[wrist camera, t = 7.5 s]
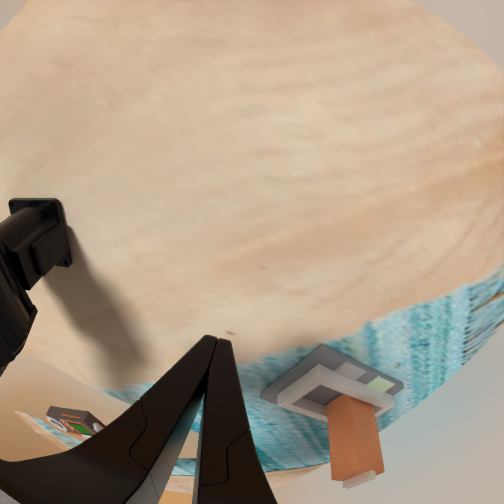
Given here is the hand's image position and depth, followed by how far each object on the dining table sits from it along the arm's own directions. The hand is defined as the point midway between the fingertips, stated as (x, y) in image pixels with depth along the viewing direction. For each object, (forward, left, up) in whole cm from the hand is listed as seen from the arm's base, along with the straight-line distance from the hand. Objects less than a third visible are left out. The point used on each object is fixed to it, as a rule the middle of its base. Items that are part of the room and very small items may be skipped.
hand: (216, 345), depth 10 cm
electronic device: (-29, -42, -14) cm, 53 cm away
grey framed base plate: (+11, -21, -13) cm, 27 cm away
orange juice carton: (+13, -22, -13) cm, 28 cm away
